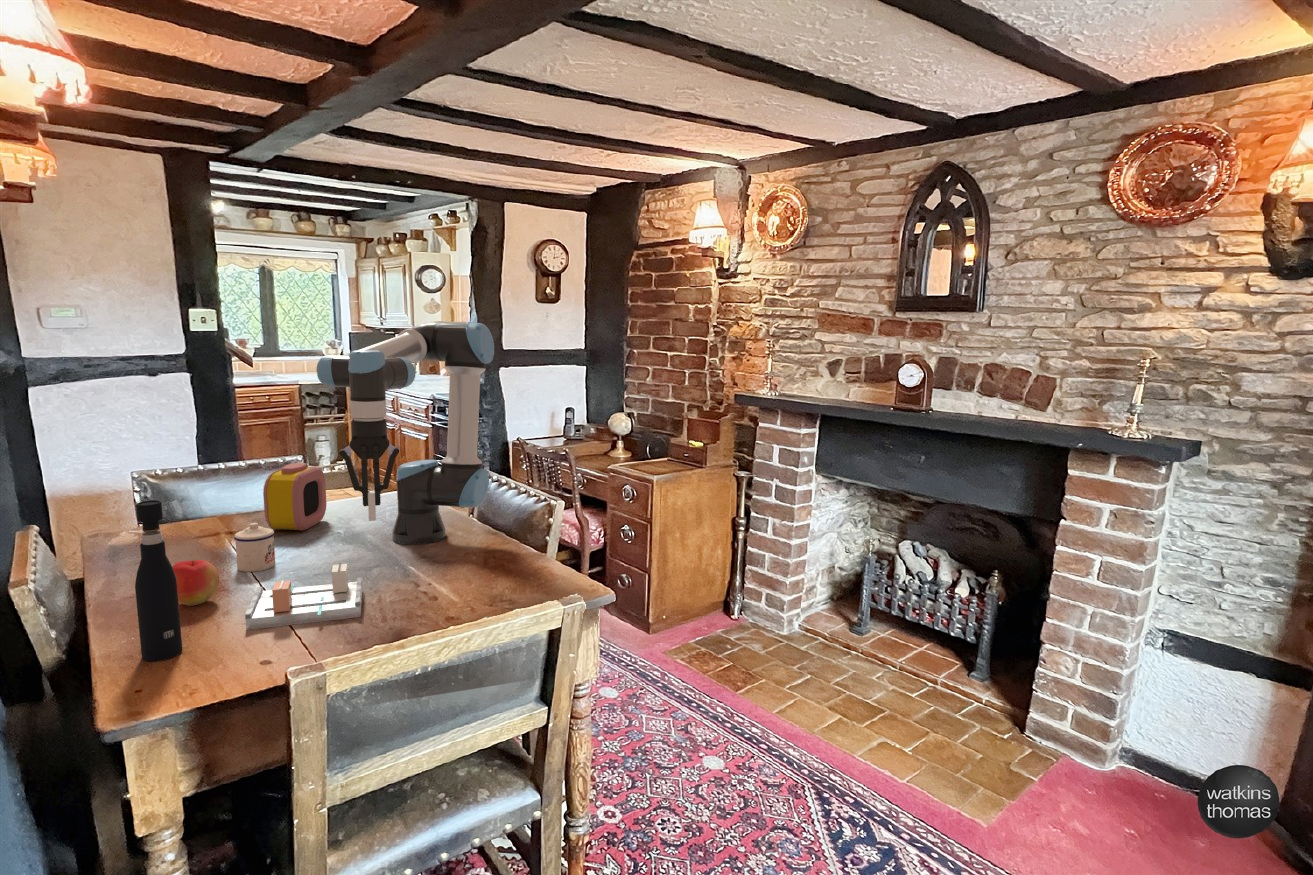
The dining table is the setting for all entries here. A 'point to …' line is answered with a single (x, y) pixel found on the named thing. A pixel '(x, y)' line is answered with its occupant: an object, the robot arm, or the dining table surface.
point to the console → (305, 606)
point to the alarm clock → (295, 497)
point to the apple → (195, 581)
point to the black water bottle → (156, 590)
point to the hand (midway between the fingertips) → (372, 519)
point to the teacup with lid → (255, 548)
